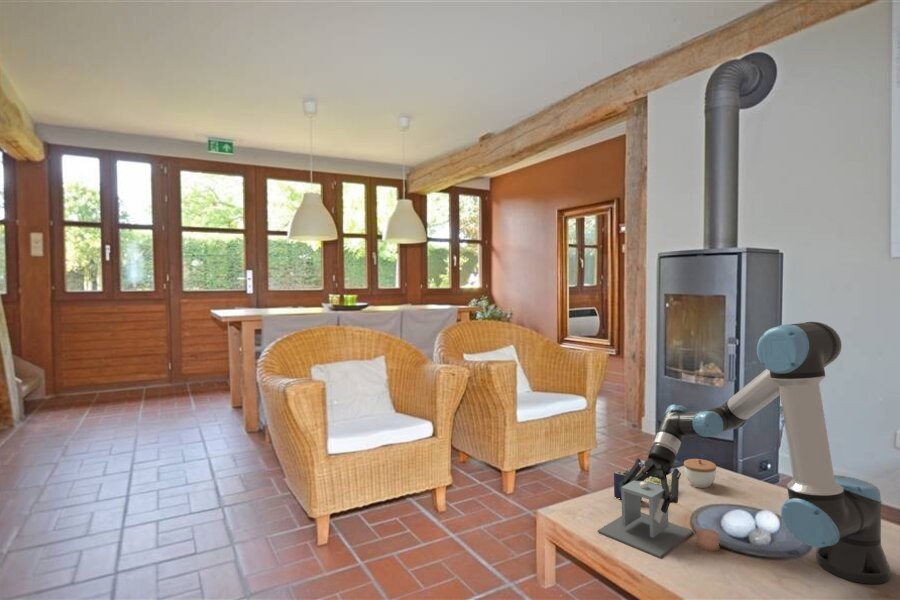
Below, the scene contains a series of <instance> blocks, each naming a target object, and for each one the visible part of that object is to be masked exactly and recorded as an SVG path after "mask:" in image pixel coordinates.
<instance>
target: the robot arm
mask: <svg viewBox="0 0 900 600" xmlns="http://www.w3.org/2000/svg"><path fill="white" fill-rule="evenodd" d="M841 351H842V340H841V337H840V335H839V333H838V332H837V331H836V330H835V329H834V328H833V327H831V326H829V325H828V324H825V323H822V322H818V321H805V322H799V323H790V324H788V323H786V324H785V323H784V324H781V325H778V326H774V327H772V328H769V329H768V330H766V331H764V333H762V335H761V336H760V338H759V340H758V342H757V346H756V355H757V358H758V360H759V362H760V364H761V365H763V366H764V368H765V369H764V370H763V371H761V373H760V374H758V375H757V376H755V377H754V378H753V379H752V380H751V381H750V382H748V383H747V384H746V385H745V386H743V387H742V388H741V389H740V390H738V391H737V392H736V393H735V394H733V396H731V397H730V398H729V399H728V400H727V401H725V402H723V404H721V405H720V406H717V407H716V406H715V407H713V408H708V409H703V410H698V411H690V410H689V409H688V408H686V407H685V406H683V405H678V404H670V405H668V406H667V408H666V411H664V413H663V416H662V419H661V423H660V425H659V428H658V430H657V433H656V436H655V437H654V440H653V443H652V446H651V447H650V450H649V453H648V455H647V456H648V457H647V458H646V460H642V459H640V458H636V459H635V463H634V464H633V466H632V467H631V468H630V470H629V472H628V474H627V475H626V476H625V477H624V479H623V480H622V481H621V483H622V484H623V485H626V484H628V483H630V482H632V481H638V480H643V481H644V480H645V479H646V478H649V477H656V478H658V479H660V480H661V485H662V489H664V493H663V495H664V499H662V498H661V500H660V503H659V505H658V508H657V511H656V513H655V516H654V520H655V521H656V522H657V523H659V524H660V521H661V518H662V515H663V513H666V512H667V510H668V511H669V507H670V504H672V503H673V504H677V503H679V485H680V484H679V483H680V482H679V480H680V478H681V476H682V475H681V474H682V473H681V472H680V470H679V469H678V468H673V466H674V463H675V461H676V457H677V454H678V453H679V449H680V447H681V445H682V442H683V438H684V437H703V438H710V437H717V436H719V435H720V434H721V433H723V432H726V431H731V430H738V429H740V428H742V427H744V426H746V425H748V423H749V419H750V418H751V417H753V416H754V415H755V414H756V413H758V412H759V411H760V410H762V409H763V408H765V407H766V406H768V404H770V403H771V402H772V401H774V400H775V399H776V398H778V397H779V396H780V403H781V409H782V415H783V422H784V428H785V435H786V442H787V449H788V454H789V461H790V468H791V473H792V479H791V480H790V481H789V482H788V483H787V485H786V486H787V487H786V488H787V493H788V499H787V500H786V501H785V502H784V503H783V504H782V506H781V507H780V509H781V510H780V515H781V519H782V523H783V524H784V526H785V527H786V529H787V530H788V532H789V533H791V534H792V535H793V536H794V538H795V539H797V540H798V541H800V542H802V543H803V544H805V545H807V546H810V547H813V548H816V552H815V559H816V562H817V564H819V566H820V567H821V568H823V569H824V570H825V571H827V572H828V573H831V574H833V575H834V576H836V577H838V578H842V579H845V580H847V581H850V582H851V581H852V582H855V583H859V584H860V583H861V584H866V585H867V584H868V585H881V584H884V583H887V582H888V581H889V580H890V579H891V567H890V565H889V562H888V560H887V556H886V554H885V551H884V549H883V547H882V541H881V539H882V533H881V532H882V502H883V501H882V499H881V491H880V489H879V488H878V487H877V486H876V485H874V484H873V483H870V482H868V481H865V480H862V479H859V478H855V477H852V476H845V475H839V474H835V473H834V467H833V463H832V456H831V448H830V443H829V437H828V432H827V425H826V418H825V412H824V406H823V400H822V393H821V387H820V384H821V381H823V380H824V379H825V378H826V372H825V368H826V367H827V366H828V365H830V364H832V363H833V362H834V361H835V360H836V359H837V358H838V357H839V355H841ZM637 474H638V475H637ZM670 474H671V481H672V482H671V494H670V493H669V488H668V484H667V479H668V478H667V476H668V475H670ZM636 475H637V476H636ZM620 508H621V509H622V503H621V505H620Z"/></svg>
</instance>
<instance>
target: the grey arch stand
mask: <svg viewBox="0 0 900 600" xmlns="http://www.w3.org/2000/svg"><path fill="white" fill-rule="evenodd" d="M663 493H664V489H662V486H660V485H656V484H653V483H650V482H646V481H643V480H638V481H632V482H630V483H628V484H626V485H624V486H622V487H621V499H622V500H621V499H620V500H621V504H622V508H621V516H622V526H624V527H626V526H627V525H629V524H630V523H632V522H634V521H635V520H637V519H638V518H640V517H641V512H642V511H641V502H640V497H642V498H644V499H646V500H648V511H649V512H648V513H649V514H648V515H649V518H650V537H655V536H656V535H658V534H659V533H660V532H662V531H663V530H665V529H666V528H668V522H669V509H668V510H667V512H666V513H663V515H662V518H661V521H660V524H659V523H657V522H656V521H655V520H654V516H655V513H656V511H657V508H658V505H659V503H660V500H661V498H662V499H664V495H663Z"/></svg>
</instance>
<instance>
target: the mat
mask: <svg viewBox="0 0 900 600" xmlns="http://www.w3.org/2000/svg"><path fill="white" fill-rule="evenodd" d="M598 532H599V533H598ZM597 533H598V534H601V535H603V536H606V537H608V538H609V539H613V540H615V541H617V542H620V543H622V544H625V545H627V546H629V547H632V548H635V549H637V550H639V551H642V552H644V553H647V554H648V555H652V556H653V557H656V558H658V559H661V558H662V557H664V556H665V555H666V554H668V553H669V552H670V551H672V550H673V549H674V548H676V547H677V546H679V544H680V543H682V542H684V541H685V540H686V539H687V538H688V537H690V536H691V535H692V534H694V530H692V529H690V528H687V527H684V526H681V525H679V524H675V523H673V522H671V521H670V522H669V521H668V528H666V529H665V530H663V531H662V532H660V533H659V534H658V535H656V536H655V537H650V518H649V514H647V513H644V512H642V511H641V517H640V518H638V519H637V520H635V521H634V522H632V523H630V524H629V525H627V526H626V527H624V526H622V515H620V516H619V517H618V518H616V519H614V520H612V521H610V522H609V523H607V524H606V525H604V526H602V527H601V528H599V529H598V530H597Z"/></svg>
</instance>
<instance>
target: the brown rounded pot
mask: <svg viewBox="0 0 900 600" xmlns="http://www.w3.org/2000/svg"><path fill="white" fill-rule="evenodd" d="M695 533H696V536H695V537H696V538H695V539H696V546H697V547H698V548H700V549H702V550H705V551H707V552H708V551H709V552H714V551H715V552H716V551H719V550H720V549H721V545H720V546H719V543H720V544H721V541H720V540H721V535H720V533H719V532H717V531H716V530H713V529H710V528H699V529H697V530H696V532H695Z"/></svg>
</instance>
